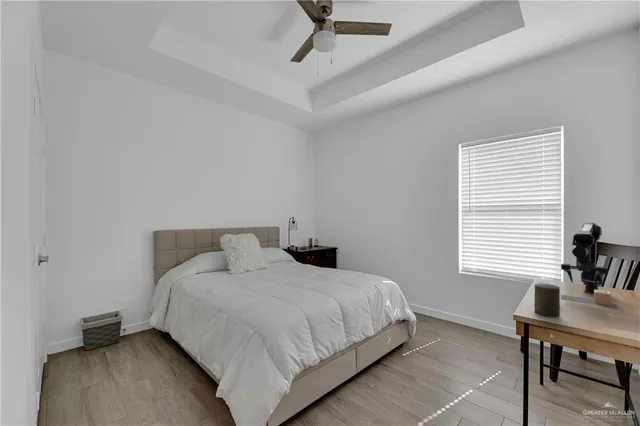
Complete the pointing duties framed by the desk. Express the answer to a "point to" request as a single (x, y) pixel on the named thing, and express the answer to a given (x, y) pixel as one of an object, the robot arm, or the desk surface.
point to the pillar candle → (547, 300)
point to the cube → (602, 297)
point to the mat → (584, 300)
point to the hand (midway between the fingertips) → (583, 284)
